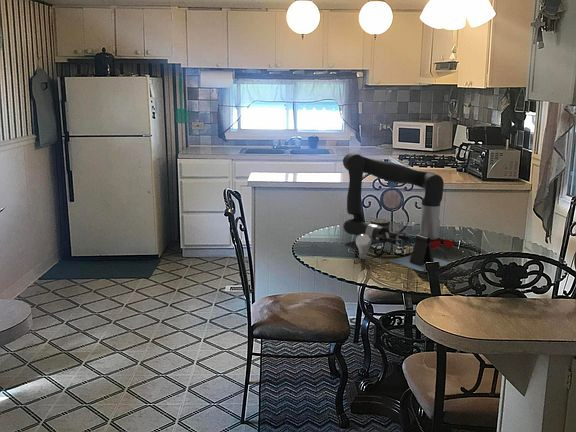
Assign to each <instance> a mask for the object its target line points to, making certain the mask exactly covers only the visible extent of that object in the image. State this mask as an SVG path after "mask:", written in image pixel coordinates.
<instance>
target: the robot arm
mask: <svg viewBox="0 0 576 432" xmlns="http://www.w3.org/2000/svg"><path fill="white" fill-rule="evenodd" d="M342 164H343V167H344V168H345V169H346V171H348V176H349V177H348V178H349V181H348V182H349V184H348V189H347V190H348V191H347V195H346V212H347V214H349V215H352V216H353V218H350V219H347V220H345V221H344V222H343V230H344V232H346V233H347V234H349V235H352V236H359V235H360V234H367V235H368V236H369V237H370V238H371V241H375V242H379V243H381V244H386V243H387V244H392V245H396V244H397V242H398V241H401V240H402V241H403V242H410V237H409V236H408V235H406V233H404V232H402V231H396V230H395V231H394V232H393V231H390V230H388V228H386V227H383V226H380V225H376V224H371V222H368V221H367V222H366V221H365V220H364V216H363V212H362V185H363V184H362V182H363V176H364V174H368V175H370V176H371V175H372V176H374V177H376V178H378V179H381V180H384V181H388V182H392V183H396V184H407V185H408V184H409V185H413V186H417V187H419V188H422V189H423V190H424V191H425V192H424V196H423V198H422V199H421V207H420V222H419V223H420V225H419V234H418V235H422V236H426V237H429V238H430V239H431V241H436V240H439V239H438V238H440V230H441V229H440V228H441V227H440V226H441V219H440V214H441V213H440V212H441V202H442V199H443V194H444V185H445V184H444V179H443V177H442V176H440V174H437V173H435V172H430V171H429V172H428V171H421V170H417V169H416V170H415V169H413V168H410V167H409V166H406V165H402V164H399V163H395V162H391V161H386V160H385V161H384V160H381V159H380V160H378V159H371V158H368V157H365V156H362V155H361V154H359V153H356V152H349V153H347V154H346V155H345V156H344V157H343V159H342Z"/></svg>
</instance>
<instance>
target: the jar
mask: <svg viewBox="0 0 576 432" xmlns="http://www.w3.org/2000/svg"><path fill="white" fill-rule="evenodd" d="M370 223H371V224H376V225H380V226H383V227H386V228H388V230H389V231H390V230H391V229H390V228H391V227H390V226H391V221H390V219H386V218H372V219H370Z"/></svg>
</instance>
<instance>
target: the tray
mask: <svg viewBox="0 0 576 432" xmlns="http://www.w3.org/2000/svg"><path fill="white" fill-rule="evenodd" d="M410 258H411V255H407V256H403V257H399V258H396V259H391V260H389V262H390V263H393V264H395V265H397V264H398V266H400V265H402V266H401V267H403V266H405V267H404V268H406V267H409V268H412V269H415V270H418V271H424V270H425V267H424V266H425V265H421V266H419V265H416V264H413V263H411V262H409V261H410ZM433 261H438V262H439V263H440V266H444V265H447V264H448V263H450V262H449V261H445V260H442V259H439V258H436V257H433ZM409 268H408V269H409ZM412 269H411V270H412Z"/></svg>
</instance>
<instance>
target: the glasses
mask: <svg viewBox="0 0 576 432" xmlns="http://www.w3.org/2000/svg"><path fill="white" fill-rule="evenodd" d="M442 241H443V242H442ZM441 242H442V243H443V244H444V245H443V246H444V247H446V249H451V248H453V247H454V246H457V247H459V248H462V249H464V250H465V251H466V252H468V253H469V255H470V256H473V255H472V253H471V251H470V250H468V249H467V248H465V247H463V246H460V245H459V244H457V243H455V240H454V239H447V238H446V239H444V240H443V239H435V240H431V241H430V245H431V250H437V251H439V252H441V253H442V254H443V255H444V257H445V260H448V257H447V255H446V253H445V252H444V251H443V250H440V249H439V247H440V248H441V247H442V244H441Z"/></svg>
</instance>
